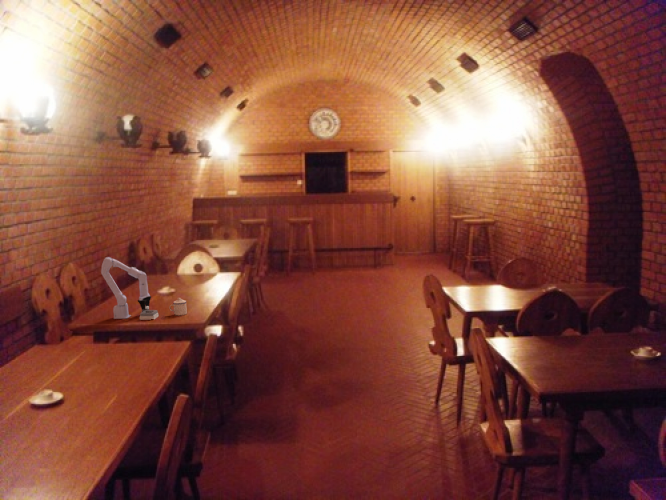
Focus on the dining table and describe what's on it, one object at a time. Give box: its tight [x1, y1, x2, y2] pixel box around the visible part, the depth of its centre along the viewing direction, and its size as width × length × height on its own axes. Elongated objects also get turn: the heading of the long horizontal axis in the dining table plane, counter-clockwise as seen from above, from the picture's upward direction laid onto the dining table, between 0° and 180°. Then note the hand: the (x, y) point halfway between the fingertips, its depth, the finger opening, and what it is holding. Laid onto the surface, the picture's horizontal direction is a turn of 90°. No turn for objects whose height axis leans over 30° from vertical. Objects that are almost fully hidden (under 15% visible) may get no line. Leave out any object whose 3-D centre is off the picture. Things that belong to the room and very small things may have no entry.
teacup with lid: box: [168, 297, 188, 316], centre depth 420 cm, size 12×9×12 cm
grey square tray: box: [139, 309, 159, 321], centre depth 413 cm, size 10×9×4 cm
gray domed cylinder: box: [141, 305, 150, 313], centre depth 422 cm, size 5×5×6 cm
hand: (145, 307), depth 422 cm, fingers open, 7 cm apart
